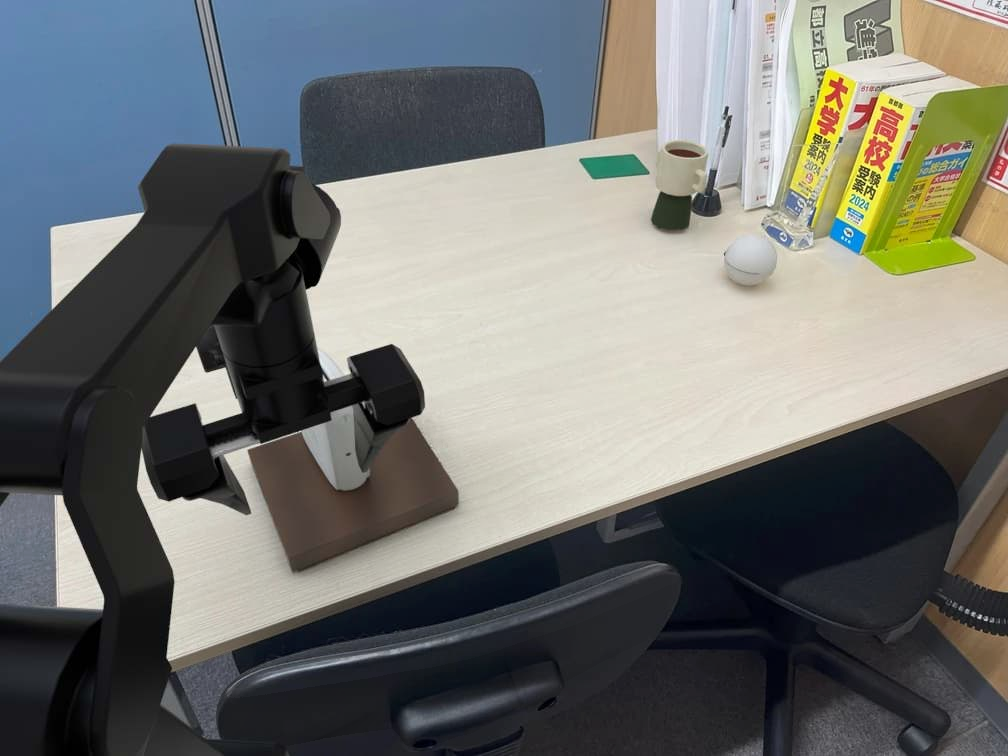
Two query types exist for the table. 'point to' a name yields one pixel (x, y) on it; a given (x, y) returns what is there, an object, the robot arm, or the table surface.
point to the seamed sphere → (750, 259)
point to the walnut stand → (349, 496)
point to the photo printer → (336, 439)
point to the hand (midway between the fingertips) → (306, 488)
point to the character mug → (678, 182)
